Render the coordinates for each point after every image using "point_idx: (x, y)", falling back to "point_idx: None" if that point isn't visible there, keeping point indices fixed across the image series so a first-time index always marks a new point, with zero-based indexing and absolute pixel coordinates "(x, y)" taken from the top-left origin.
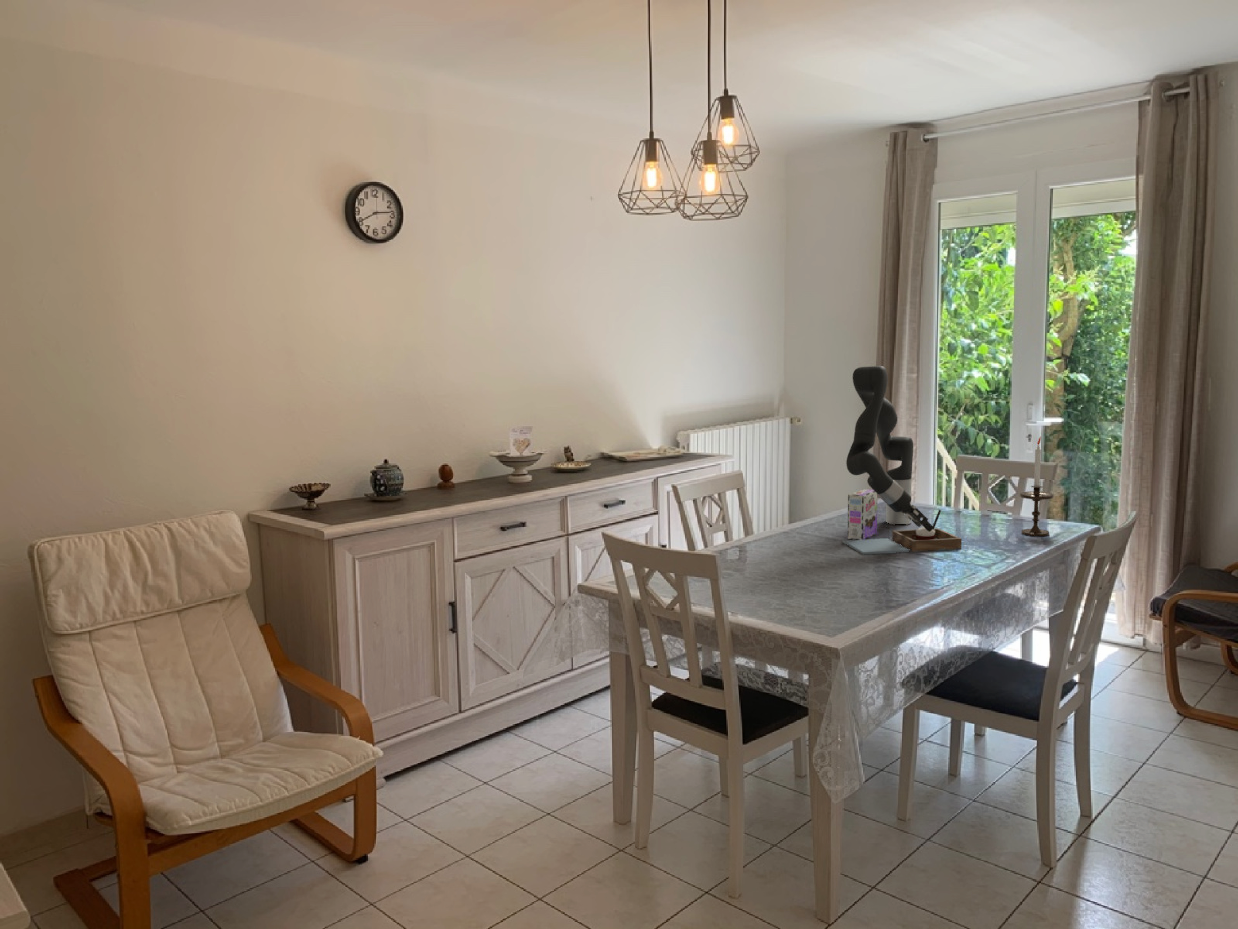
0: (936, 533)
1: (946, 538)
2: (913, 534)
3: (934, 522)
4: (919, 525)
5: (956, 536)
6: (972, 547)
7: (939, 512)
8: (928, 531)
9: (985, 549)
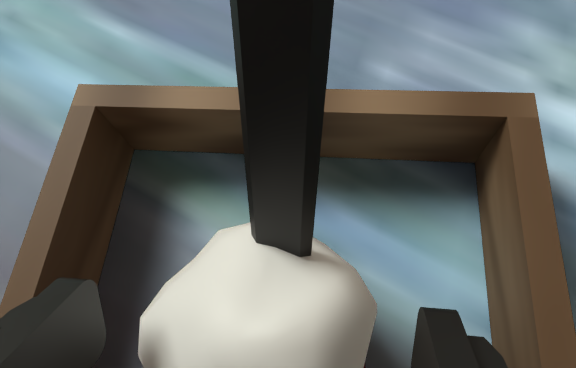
0: (112, 130)
1: None
2: None
3: (278, 190)
4: (95, 338)
5: (435, 94)
6: (461, 58)
7: (323, 25)
8: (361, 350)
9: (536, 15)
